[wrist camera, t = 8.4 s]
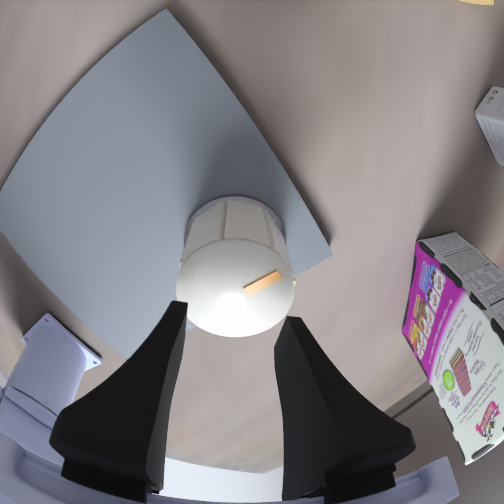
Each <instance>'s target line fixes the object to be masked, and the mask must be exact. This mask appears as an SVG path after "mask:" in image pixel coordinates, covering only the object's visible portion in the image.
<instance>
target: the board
mask: <svg viewBox="0 0 504 504" xmlns="http://www.w3.org/2000/svg"><path fill="white" fill-rule="evenodd" d="M229 194H240V195H247V196H251V197H254V198H256V199H259V200H260V201H262V202H264V203H265V204H267V205H268V206H270V207H271V208H272V209H273V210H274V211H275V213H276V214H277V215H278V217H279V218H280V220H281V222H282V225H283V227H284V230H285V235H286V247H287V250H288V253H289V257H290V260H291V263H292V267H293V270H294V273H295V275H297V274H299V273H301V272H303V271H304V270H306V269H308V268H310V267H312V266H314V265H315V264H317V263H319V262H321V261H323V260H324V259H326V258H328V257H330V256H331V255H333V253H332V251H331V249H330V247H329V245H328V243H327V242H326V240H325V238H324V236H323V234H322V233H321V231H320V229H319V227H318V225H317V224H316V222H315V220H314V218H313V217H312V215H311V213H310V212H309V210H308V208H307V206H306V205H305V203H304V201H303V200H302V198H301V196H300V194H299V193H298V191H297V189H296V188H295V186H294V185H293V183H292V181H291V180H290V178H289V176H288V175H287V173H286V171H285V170H284V168H283V167H282V165H281V163H280V162H279V160H278V159H277V157H276V156H275V154H274V152H273V151H272V149H271V148H270V146H269V145H268V143H267V142H266V140H265V139H264V137H263V136H262V134H261V133H260V131H259V130H258V128H257V127H256V125H255V124H254V122H253V121H252V119H251V118H250V116H249V115H248V113H247V112H246V111H245V109H244V108H243V106H242V105H241V103H240V102H239V101H238V99H237V98H236V96H235V95H234V93H233V92H232V91H231V89H230V88H229V87H228V85H227V84H226V82H225V81H224V80H223V78H222V77H221V76H220V74H219V73H218V72H217V70H216V69H215V68H214V66H213V65H212V64H211V62H210V61H209V60H208V59H207V57H206V56H205V55H204V53H203V52H202V51H201V50H200V48H199V47H198V46H197V44H196V43H195V42H194V41H193V40H192V38H191V37H190V36H189V35H188V33H187V32H186V31H185V30H184V28H183V27H182V26H181V25H180V24H179V23H178V21H177V20H176V19H175V18H174V17H173V15H172V14H171V13H170V12H169V11H168V10H167V9H164V10H163V11H161V12H160V13H158V14H157V15H155V16H154V17H152V18H151V19H150V20H148V21H147V22H145V23H144V24H143V25H141V26H140V27H139V28H137V29H136V30H135V31H134V32H132V33H131V34H130V35H129V36H127V37H126V38H125V39H124V40H122V41H121V42H120V43H119V44H118V45H116V46H115V47H114V48H113V49H112V50H111V51H110V52H109V53H107V54H106V55H105V56H104V57H103V58H102V59H101V60H100V61H99V62H98V63H97V64H96V65H95V66H94V67H93V68H91V69H90V70H89V71H88V72H87V73H86V74H85V76H84V77H83V78H82V79H81V80H80V81H79V82H78V83H77V84H76V85H75V86H74V87H73V88H72V89H71V90H70V92H69V93H68V94H67V95H66V96H65V97H64V98H63V100H62V101H61V102H60V103H59V104H58V106H57V107H56V108H55V109H54V110H53V112H52V113H51V114H50V115H49V117H48V118H47V119H46V121H45V122H44V123H43V125H42V126H41V127H40V129H39V130H38V131H37V133H36V134H35V136H34V137H33V138H32V140H31V141H30V143H29V144H28V146H27V147H26V149H25V150H24V152H23V153H22V155H21V156H20V158H19V160H18V161H17V163H16V164H15V166H14V168H13V169H12V171H11V173H10V175H9V176H8V178H7V180H6V182H5V184H4V185H3V187H2V189H1V191H0V231H1V233H2V234H3V235H4V237H5V238H6V239H7V241H8V242H9V243H10V244H11V246H12V247H13V248H14V250H15V251H16V252H17V253H18V255H19V256H20V257H21V258H22V259H23V261H24V262H25V263H26V264H27V265H28V267H29V268H30V269H31V270H32V271H33V272H34V273H35V275H36V276H37V277H38V278H39V279H40V280H41V281H42V282H43V283H44V285H45V286H46V287H47V288H48V289H49V290H50V291H51V292H52V293H53V294H54V295H55V296H56V297H57V298H58V299H59V300H60V301H61V302H62V303H63V304H64V305H65V306H66V307H67V308H68V309H69V310H70V311H71V312H72V313H73V314H74V315H75V316H76V317H77V318H79V319H80V320H81V321H82V322H83V323H84V324H85V325H86V326H87V327H88V328H90V329H91V330H92V331H93V332H94V333H95V334H96V335H98V336H99V337H100V338H101V339H102V340H103V341H105V342H106V343H107V344H108V345H109V346H111V347H112V348H113V349H114V350H116V351H117V352H118V353H119V354H121V355H122V356H123V357H125V358H126V359H128V358H130V357H131V356H132V354H133V353H134V352H135V351H136V350H137V349H138V348H139V346H140V345H141V344H142V343H143V342H144V341H145V339H146V338H147V337H148V336H149V334H150V333H151V332H152V330H153V329H154V328H155V326H156V325H157V324H158V322H159V321H160V319H161V318H162V316H163V315H164V313H165V311H166V310H167V308H168V306H169V304H170V302H171V301H173V300H176V301H177V297H176V283H177V279H178V274H179V264H180V259H181V256H182V253H183V250H184V234H185V230H186V227H187V224H188V222H189V220H190V218H191V216H192V215H193V214H194V212H195V211H196V210H197V209H198V208H199V207H200V206H202V205H203V204H204V203H206V202H207V201H209V200H211V199H213V198H216V197H219V196H223V195H229ZM195 327H197V325H195V324H194V323H193V322H191V321H190V320H189V319H188V318H187V321H186V331H188V330H190V329H192V328H195Z"/></svg>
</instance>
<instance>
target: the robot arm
mask: <svg viewBox="0 0 504 504" xmlns="http://www.w3.org/2000/svg"><path fill="white" fill-rule="evenodd" d="M187 310H188V302H182V301H176V300H173V301H171V302H170V304H169V306H168V308H167V310H166V311H165V313H164V315H163V316H162V318H161V319H160V321H159V322H158V324H157V325H156V326H155V328H154V329H153V330H152V332H151V333H150V334H149V336H148V337H147V338H146V339H145V341H144V342H143V343H142V344H141V345H140V346H139V348H138V349H137V350H136V351H135V352H134V353H133V354H132V356H131V357H130V358H129V359H128V360H127V361H126V362H125V363H124V364H123V365H122V366H121V367H120V368H118V369H117V370H116V371H115V372H114V373H113V374H112V375H111V376H110V377H108V378H107V379H106V380H105V381H104V382H102V383H101V384H100V385H98V386H97V387H96V388H94V389H93V390H92V391H90V392H89V393H88V394H86V395H85V396H83V397H82V398H80V399H78V400H77V401H75V402H74V403H73V401H74V398H75V395H76V392H77V389H78V387H79V384H80V381H81V379H82V376H83V373H84V371H86V370H89V369H91V368H93V367H95V366H97V365H99V364H101V363H102V359H101V358H100V357H99V356H97V355H96V354H95V353H94V352H92V351H91V350H90V349H89V348H88V347H86V346H85V345H84V344H83V343H82V342H80V341H79V340H78V339H77V338H76V337H75V336H74V335H72V334H71V333H70V332H69V331H68V330H67V329H66V328H65V327H63V326H62V325H61V324H60V323H59V322H58V321H57V320H56V319H55V318H54V317H53V316H52V315H51V314H49V313H46V314H45V315H44V316H43V317H42V318H41V319H40V320H39V321H38V322H37V323H36V324H35V325H34V326H33V327H32V328H31V329H30V330H29V331H28V332H27V333H26V334H25V335H24V336H23V337H22V341H23V343H25V344H26V347H25V349H24V350H23V352H22V354H21V356H20V358H19V360H18V362H17V363H16V365H15V367H14V369H13V371H12V373H11V375H10V377H9V379H8V381H7V383H6V386H5V387H4V388H1V387H0V504H446V503H448V502H449V501H451V500H452V499H454V498H456V497H457V496H459V491H458V488H457V485H456V482H455V478H454V475H453V472H452V469H451V466H450V463H449V460H448V458H447V457H446V456H445V457H443V458H441V459H439V460H437V461H434V462H432V463H430V464H428V465H426V466H424V467H422V468H421V469H419V470H418V471H416V472H413V473H410V474H408V475H405V476H402V477H399V478H396V479H394V476H393V472H394V471H396V466H395V463H396V462H398V461H400V460H401V459H403V458H404V457H406V456H408V455H409V454H410V453H412V452H413V451H414V450H415V448H416V444H415V441H414V438H413V435H412V433H411V430H410V429H409V428H407V427H406V426H404V425H402V424H400V423H399V422H397V421H395V420H394V419H392V418H391V417H389V416H388V415H386V414H385V413H384V412H382V411H381V410H379V409H378V408H377V407H376V406H374V405H373V404H372V403H371V402H370V401H368V400H367V399H366V398H365V397H364V396H363V395H361V394H360V393H359V392H358V391H357V390H356V389H355V388H354V387H353V386H352V385H351V384H350V383H349V382H348V381H347V380H346V379H345V377H344V376H343V375H342V374H341V373H340V372H339V370H338V369H337V368H336V367H335V366H334V364H333V363H332V362H331V361H330V359H329V358H328V357H327V355H326V354H325V353H324V351H323V350H322V348H321V347H320V346H319V344H318V343H317V341H316V340H315V338H314V337H313V335H312V334H311V332H310V331H309V329H308V328H307V326H306V325H305V323H304V322H303V320H302V319H301V317H292V316H287V317H286V320H285V322H284V325H283V327H282V330H281V332H280V334H279V337H278V339H277V342H276V344H275V346H274V361H275V373H276V379H277V385H278V391H279V397H280V403H281V409H282V417H283V434H284V474H283V489H282V501H280V502H262V503H227V502H226V503H225V502H208V501H197V500H187V499H178V498H172V497H166V496H160V495H155V494H159V491H161V490H162V489H163V481H164V464H165V452H166V440H167V430H168V421H169V413H170V406H171V401H172V396H173V392H174V388H175V384H176V380H177V376H178V372H179V368H180V364H181V360H182V354H183V348H184V341H185V332H186V321H187ZM152 493H154V494H152Z"/></svg>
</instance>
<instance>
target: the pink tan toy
mask: <svg viewBox="0 0 504 504" xmlns="http://www.w3.org/2000/svg"><path fill="white" fill-rule="evenodd" d="M460 1H463V2H467V3H472V4H478V5H494V0H460Z"/></svg>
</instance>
